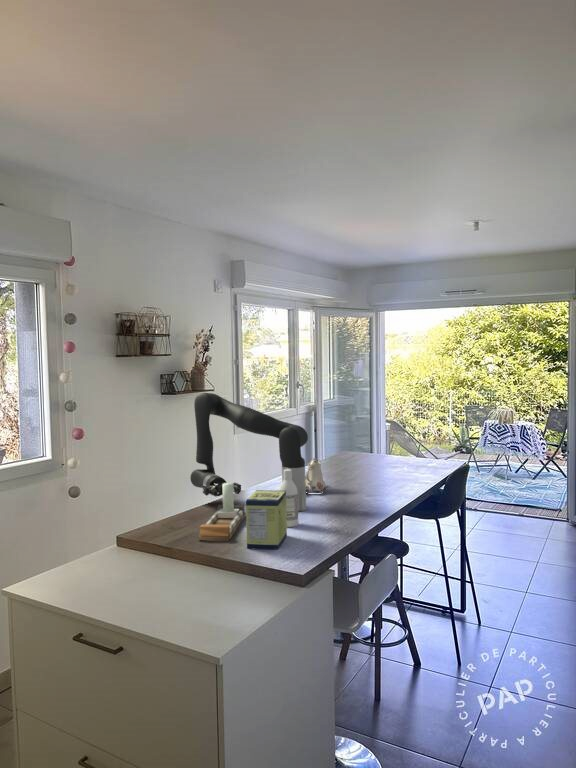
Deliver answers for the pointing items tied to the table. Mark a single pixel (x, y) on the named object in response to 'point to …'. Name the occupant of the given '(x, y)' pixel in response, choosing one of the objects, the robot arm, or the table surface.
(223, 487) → the keeper
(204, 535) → the rail
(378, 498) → the table surface
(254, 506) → the protein box
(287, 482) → the bath foam
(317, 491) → the chinaware
